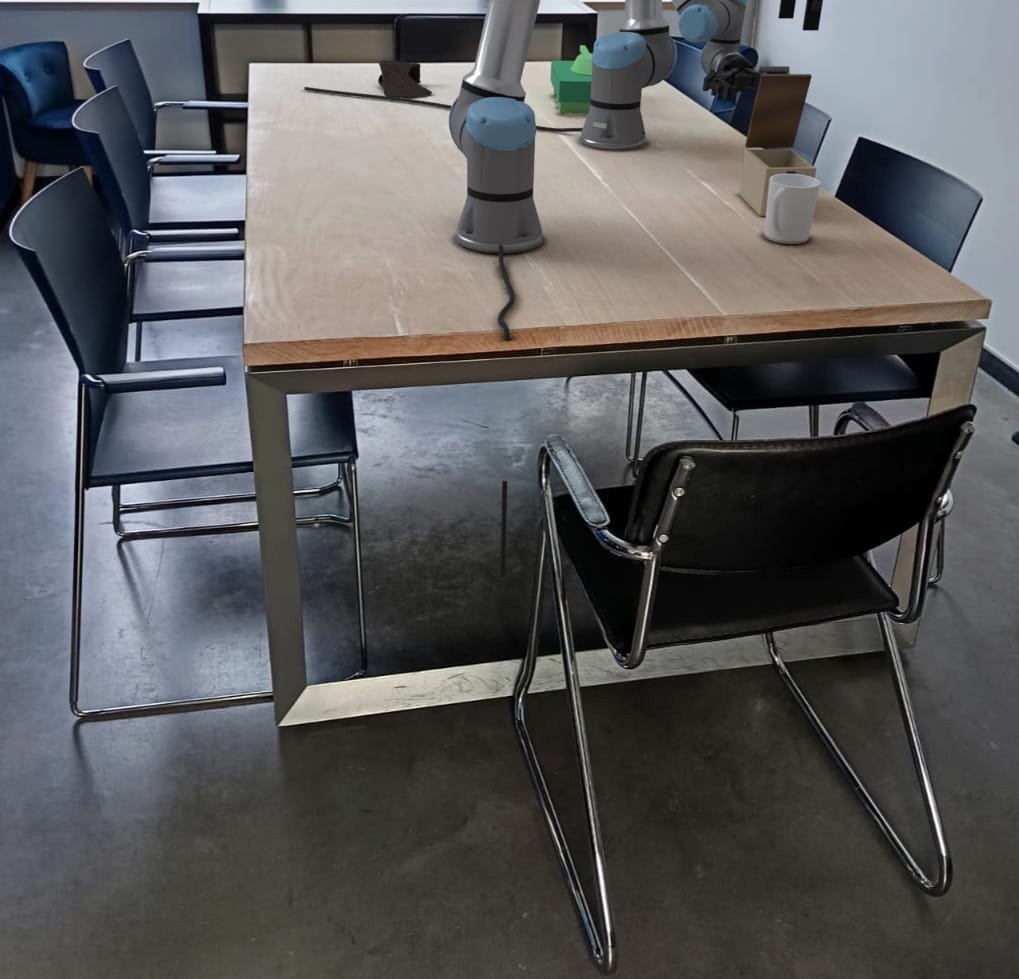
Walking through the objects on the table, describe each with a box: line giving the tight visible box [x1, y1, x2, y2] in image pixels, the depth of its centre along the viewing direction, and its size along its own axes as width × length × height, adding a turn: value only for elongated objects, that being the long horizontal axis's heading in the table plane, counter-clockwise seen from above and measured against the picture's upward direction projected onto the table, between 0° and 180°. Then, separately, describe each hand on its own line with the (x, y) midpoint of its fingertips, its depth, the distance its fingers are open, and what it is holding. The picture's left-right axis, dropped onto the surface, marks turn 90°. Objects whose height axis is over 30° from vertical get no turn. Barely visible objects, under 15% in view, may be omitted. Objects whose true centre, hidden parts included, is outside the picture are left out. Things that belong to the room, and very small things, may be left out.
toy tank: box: [550, 44, 593, 115], centre depth 290 cm, size 18×12×35 cm
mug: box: [763, 174, 822, 245], centre depth 197 cm, size 11×9×10 cm
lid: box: [744, 65, 812, 149], centre depth 215 cm, size 15×10×8 cm
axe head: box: [377, 59, 433, 99], centre depth 299 cm, size 18×8×15 cm
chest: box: [738, 148, 817, 217], centre depth 215 cm, size 14×10×9 cm
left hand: (797, 24), depth 201 cm, fingers open, 13 cm apart
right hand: (761, 94), depth 223 cm, fingers open, 13 cm apart
